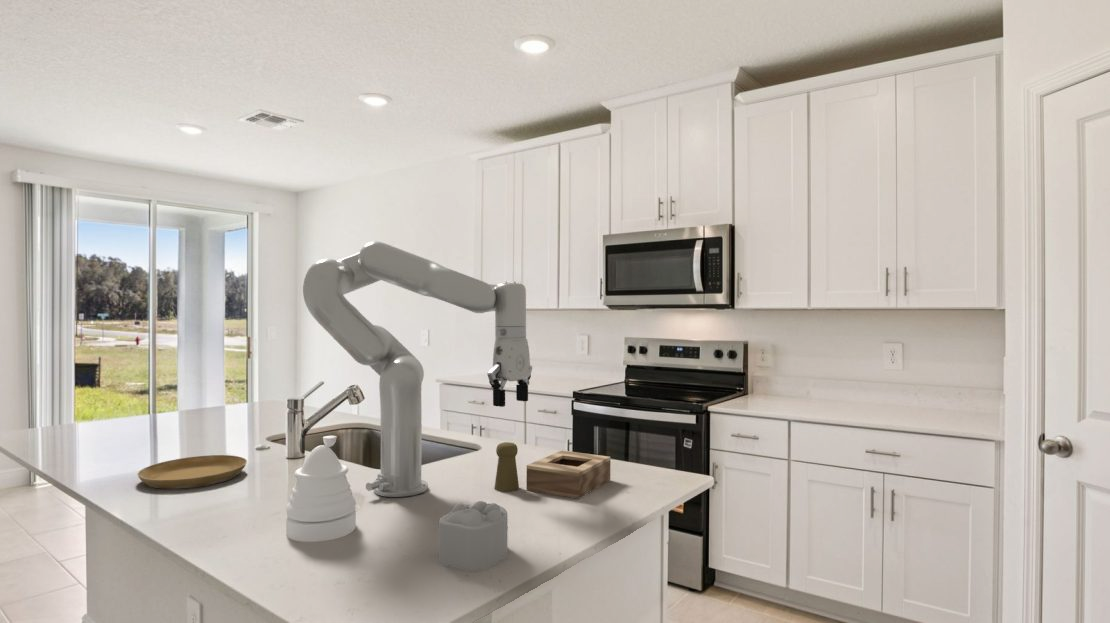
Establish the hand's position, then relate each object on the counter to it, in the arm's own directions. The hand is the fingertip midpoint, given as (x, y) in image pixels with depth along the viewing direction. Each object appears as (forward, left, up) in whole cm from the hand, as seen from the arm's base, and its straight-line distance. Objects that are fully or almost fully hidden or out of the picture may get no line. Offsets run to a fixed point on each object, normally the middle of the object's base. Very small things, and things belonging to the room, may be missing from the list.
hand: (510, 403), depth 155 cm
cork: (-2, 0, -21) cm, 21 cm away
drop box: (+8, -12, -20) cm, 25 cm away
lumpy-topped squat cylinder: (-39, -18, -21) cm, 48 cm away
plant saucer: (-34, +74, -21) cm, 84 cm away
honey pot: (-44, +16, -21) cm, 51 cm away
